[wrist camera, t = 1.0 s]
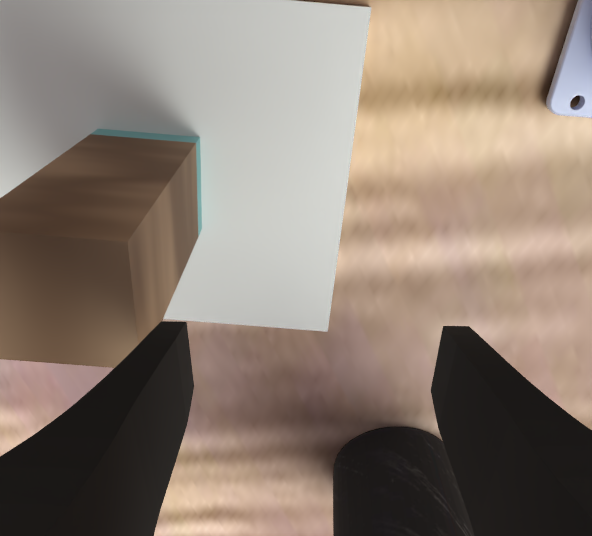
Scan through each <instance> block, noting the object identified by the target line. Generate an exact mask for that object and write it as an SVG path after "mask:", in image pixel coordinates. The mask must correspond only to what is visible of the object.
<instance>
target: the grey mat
mask: <svg viewBox="0 0 592 536" xmlns="http://www.w3.org/2000/svg"><path fill="white" fill-rule="evenodd" d="M370 14H371V7H366V6H354V5H343V4H331V3H320V2H309V1H297V0H0V198H1V197H3V196H4V195H5V194H7V193H8V192H10V191H11V190H12V189H14V188H15V187H17V186H18V185H20V184H21V183H22V182H24V181H25V180H27V179H28V178H29V177H31V176H32V175H34V174H35V173H36V172H38V171H39V170H41V169H42V168H43V167H45V166H46V165H48V164H49V163H50V162H52V161H53V160H55V159H56V158H57V157H59V156H60V155H62V154H63V153H64V152H66V151H67V150H69V149H70V148H71V147H73V146H74V145H76V144H77V143H78V142H80V141H81V140H83V139H84V138H86V137H87V136H88V135H90V134H91V133H93V132H94V131H95V130H97V129H109V130H121V131H133V132H145V133H157V134H169V135H181V136H193V137H200V156H201V205H202V230H201V232H200V235H199V237H198V239H197V241H196V244H195V246H194V248H193V251H192V253H191V255H190V258H189V260H188V262H187V265H186V267H185V269H184V271H183V274H182V276H181V278H180V281H179V283H178V285H177V288H176V290H175V292H174V294H173V297H172V299H171V301H170V304H169V306H168V308H167V311H166V313H165V315H164V318H163V319H171V320H184V321H197V322H210V323H223V324H236V325H249V326H262V327H275V328H288V329H301V330H314V331H327V332H328V325H329V317H330V310H331V303H332V295H333V288H334V280H335V273H336V266H337V258H338V251H339V243H340V236H341V228H342V221H343V214H344V206H345V199H346V191H347V184H348V177H349V169H350V162H351V154H352V147H353V140H354V132H355V125H356V117H357V110H358V103H359V95H360V88H361V80H362V73H363V66H364V58H365V51H366V43H367V36H368V28H369V21H370Z"/></svg>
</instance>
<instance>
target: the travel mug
mask: <svg viewBox="0 0 592 536" xmlns="http://www.w3.org/2000/svg"><path fill="white" fill-rule="evenodd" d="M333 528H334V536H474V532H473V529H472V526H471V522H470V519H469V516H468V513H467V510H466V507H465V504H464V501H463V498H462V495H461V492H460V490H459V487H458V484H457V481H456V478H455V475H454V472H453V469H452V466H451V464H450V461H449V458H448V455H447V452H446V449H445V446H444V443H443V442H442V441H441V440H440V439H438V438H437V437H435V436H433V435H431V434H429V433H427V432H424V431H421V430H418V429H413V428H406V427H388V428H381V429H377V430H373V431H370V432H367V433H364V434H362V435H360V436H358V437H356V438H355V439H353V440H351V441H350V442H349V443H348V444H346V445H345V446H344V447H343V449H342V450H341V451H340V453H339V454H338V456H337V458H336V461H335V465H334V475H333Z"/></svg>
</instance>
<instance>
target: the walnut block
mask: <svg viewBox="0 0 592 536" xmlns="http://www.w3.org/2000/svg"><path fill="white" fill-rule="evenodd" d="M201 230H202V205H201V156H200V137H193V136H181V135H169V134H157V133H145V132H133V131H121V130H109V129H97V130H95V131H94V132H93V133H91V134H90V135H88V136H87V137H86V138H84V139H83V140H81V141H80V142H78V143H77V144H76V145H74V146H73V147H71V148H70V149H69V150H67V151H66V152H64V153H63V154H62V155H60V156H59V157H57V158H56V159H55V160H53V161H52V162H50V163H49V164H48V165H46V166H45V167H43V168H42V169H41V170H39V171H38V172H36V173H35V174H34V175H32V176H31V177H29V178H28V179H27V180H25V181H24V182H22V183H21V184H20V185H18V186H17V187H15V188H14V189H12V190H11V191H10V192H8V193H7V194H5V195H4V196H3V197H1V198H0V359H7V360H20V361H33V362H46V363H60V364H73V365H86V366H99V367H112V368H115V367H116V366H117V365H118V364H119V363H120V362H121V361H122V360H123V359H124V358H125V357H126V356H127V355H128V354H129V353H130V352H131V351H132V350H133V349H134V348H135V347H136V346H137V345H138V344H139V343H140V342H141V341H142V340H143V339H144V338H145V337H146V336H147V335H148V334H149V333H150V332H151V331H152V330H153V329H154V328H155V327H156V326H157V325H158V324H159V323H160V322H161V321H162V320H163V318H164V315H165V313H166V311H167V308H168V306H169V304H170V301H171V299H172V297H173V294H174V292H175V290H176V288H177V285H178V283H179V281H180V278H181V276H182V274H183V271H184V269H185V267H186V265H187V262H188V260H189V258H190V255H191V253H192V251H193V248H194V246H195V244H196V241H197V239H198V237H199V235H200V232H201Z"/></svg>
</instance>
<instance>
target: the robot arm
mask: <svg viewBox="0 0 592 536" xmlns="http://www.w3.org/2000/svg"><path fill="white" fill-rule="evenodd" d="M575 96H580V101H579V103H578V105H576V106H575V107H572V108H571V107H570V102H571V100H572V98H574V97H575ZM546 105H547V108H548V109H549V110H550V111H551V112H552V113H554V114H557V115H564V116H575V117H587V118H592V0H578V2H577V5H576V8H575V11H574V14H573V18H572V21H571V24H570V27H569V30H568V33H567V36H566V40H565V43H564V46H563V49H562V52H561V55H560V58H559V62H558V65H557V68H556V71H555V74H554V77H553V81H552V84H551V87H550V90H549V93H548V96H547V101H546ZM193 389H194V383H193V374H192V366H191V357H190V348H189V340H188V331H187V323H186V322H163V321H161V322H160V323H159V324H158V325H157V326H156V327H155V328H154V329H153V330H152V331H151V332H150V333H149V334H148V335H147V336H146V337H145V338H144V339H143V340H142V341H141V342H140V343H139V344H138V345H137V346H136V347H135V348H134V349H133V350H132V351H131V352H130V353H129V354H128V355H127V356H126V357H125V358H124V359H123V360H122V361H121V362H120V363H119V364H118V365H117V366H116V367H115V368H114V369H113V370H112V371H111V372H110V373H109V374H108V375H107V376H106V377H105V378H104V379H103V380H102V381H100V382H99V383H98V384H97V385H96V386H95V387H94V388H93V389H91V390H90V391H89V392H88V393H87V394H86V395H85V396H83V397H82V398H81V399H80V400H79V401H78V402H77V403H75V404H74V405H73V406H72V407H71V408H69V409H68V410H67V411H65V412H64V413H63V414H62V415H60V416H59V417H58V418H56V419H55V420H54V421H52V422H51V423H50V424H48V425H47V426H45V427H44V428H43V429H41V430H40V431H39V432H37V433H36V434H34V435H33V436H32V437H30V438H28V439H27V440H25V441H24V442H22V443H21V444H19V445H18V446H16V447H15V448H13V449H11V450H10V451H8V452H7V453H5V454H4V455H2V456H1V457H0V536H154V531H155V527H156V524H157V520H158V516H159V513H160V509H161V506H162V503H163V500H164V496H165V493H166V490H167V487H168V484H169V481H170V477H171V474H172V471H173V468H174V465H175V462H176V458H177V455H178V452H179V449H180V446H181V442H182V439H183V436H184V433H185V429H186V426H187V422H188V417H189V411H190V406H191V400H192V394H193ZM431 393H432V399H433V404H434V409H435V414H436V419H437V423H438V428H439V431H440V434H441V437H442V440H443V443H444V446H445V449H446V452H447V455H448V458H449V461H450V464H451V466H452V469H453V472H454V475H455V478H456V481H457V484H458V487H459V490H460V492H461V495H462V498H463V501H464V504H465V507H466V510H467V513H468V516H469V519H470V522H471V526H472V529H473V532H474V536H592V430H590V429H589V428H587V427H586V426H585V425H583V424H582V423H580V422H579V421H578V420H576V419H575V418H574V417H572V416H571V415H570V414H568V413H567V412H566V411H565V410H563V409H562V408H561V407H560V406H558V405H557V404H556V403H554V402H553V401H552V400H551V399H549V398H548V397H547V396H546V395H544V394H543V393H542V392H541V391H540V390H539V389H537V388H536V387H535V386H534V385H533V384H531V383H530V382H529V381H528V380H527V379H526V378H525V377H523V376H522V375H521V374H520V373H519V372H518V371H517V370H516V369H515V368H513V367H512V366H511V365H510V364H509V363H508V362H507V361H506V360H505V359H504V358H503V357H501V356H500V355H499V354H498V353H497V352H496V351H495V350H494V349H493V348H492V347H491V346H490V345H489V344H488V343H486V342H485V341H484V340H483V339H482V338H481V337H480V336H479V335H478V334H477V333H476V332H475V331H473V330H472V329H471V328H470V327H469V326H443V330H442V335H441V341H440V346H439V351H438V356H437V361H436V366H435V371H434V377H433V382H432V387H431Z"/></svg>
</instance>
